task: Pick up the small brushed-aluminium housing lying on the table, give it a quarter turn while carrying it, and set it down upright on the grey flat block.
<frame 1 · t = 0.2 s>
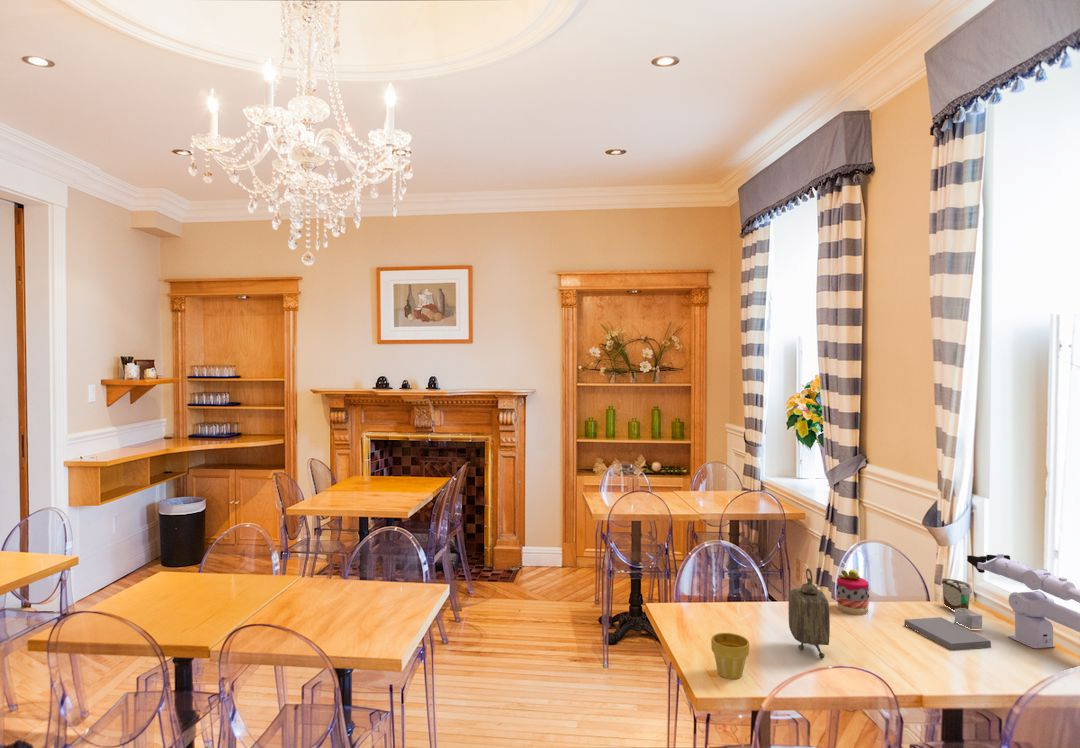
hand: (977, 557, 224), 21 cm above the table, tool horizontal, fingers open, 7 cm apart
cake: (852, 610, 232), on the table
plant pot: (730, 674, 182), on the table
grey flat block: (945, 635, 209), on the table
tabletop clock: (807, 651, 198), on the table
housing: (968, 626, 217), on the table
food container: (960, 611, 232), on the table
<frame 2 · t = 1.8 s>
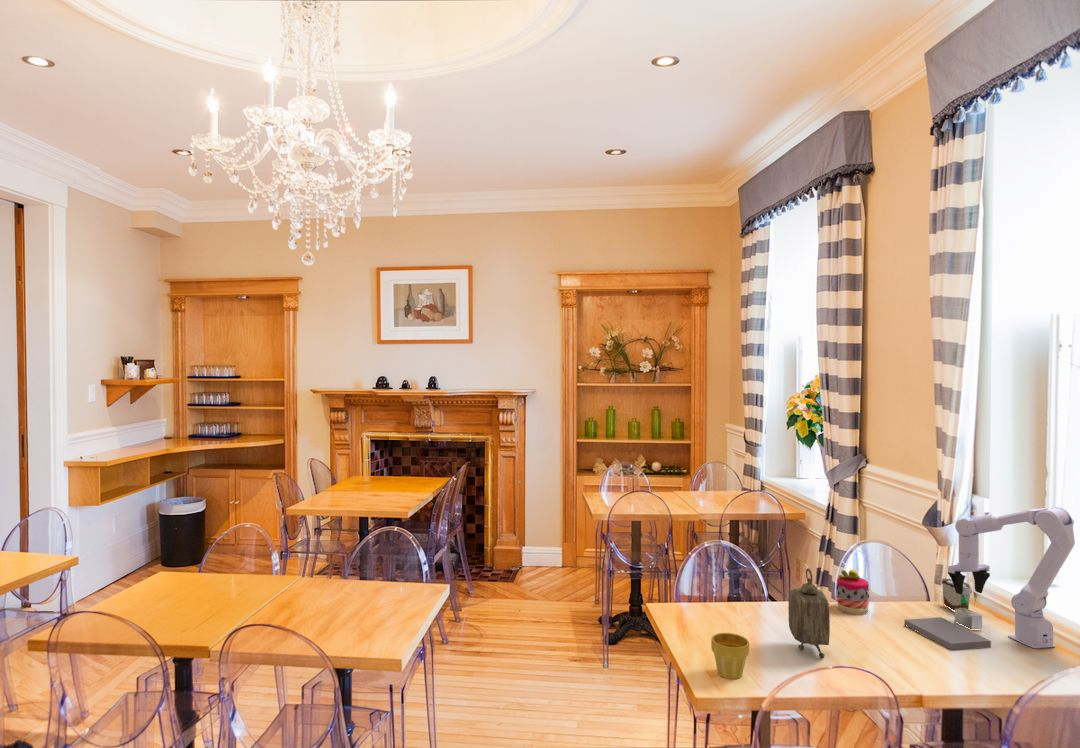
hand: (968, 592, 220), 10 cm above the table, tool pointing down, fingers open, 7 cm apart
nothing on the table moved.
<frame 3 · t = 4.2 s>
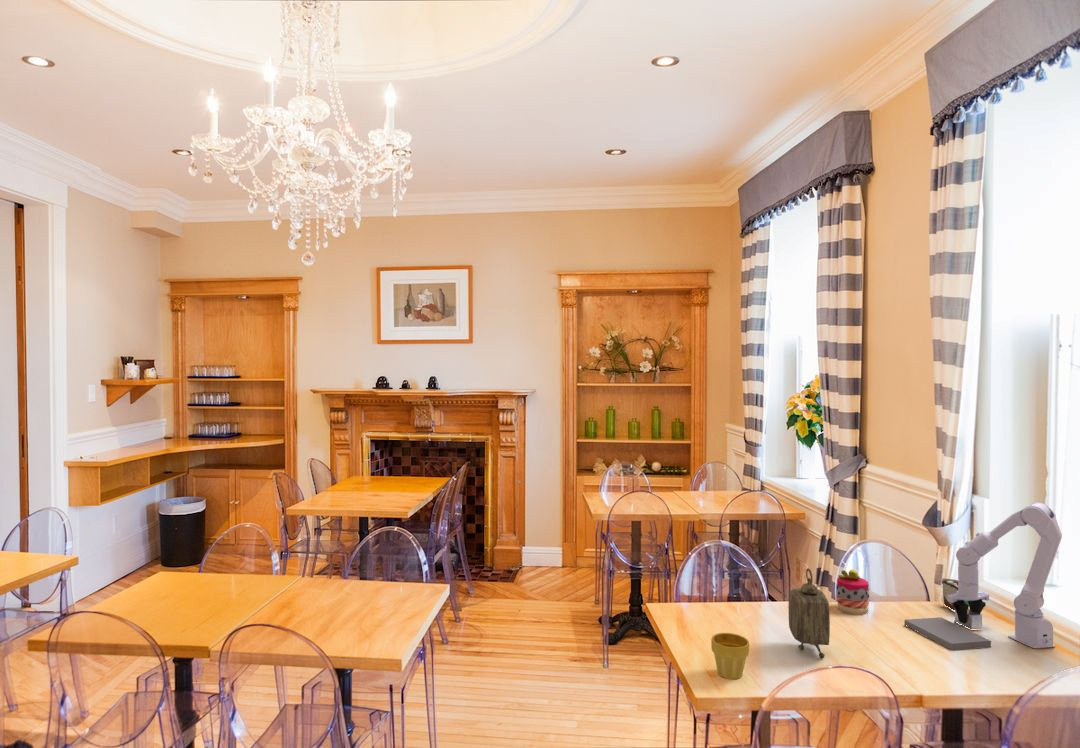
hand: (968, 622, 217), 1 cm above the table, tool pointing down, fingers closed on housing, 4 cm apart
housing: (968, 626, 217), on the table, touching gripper
everything else where it was.
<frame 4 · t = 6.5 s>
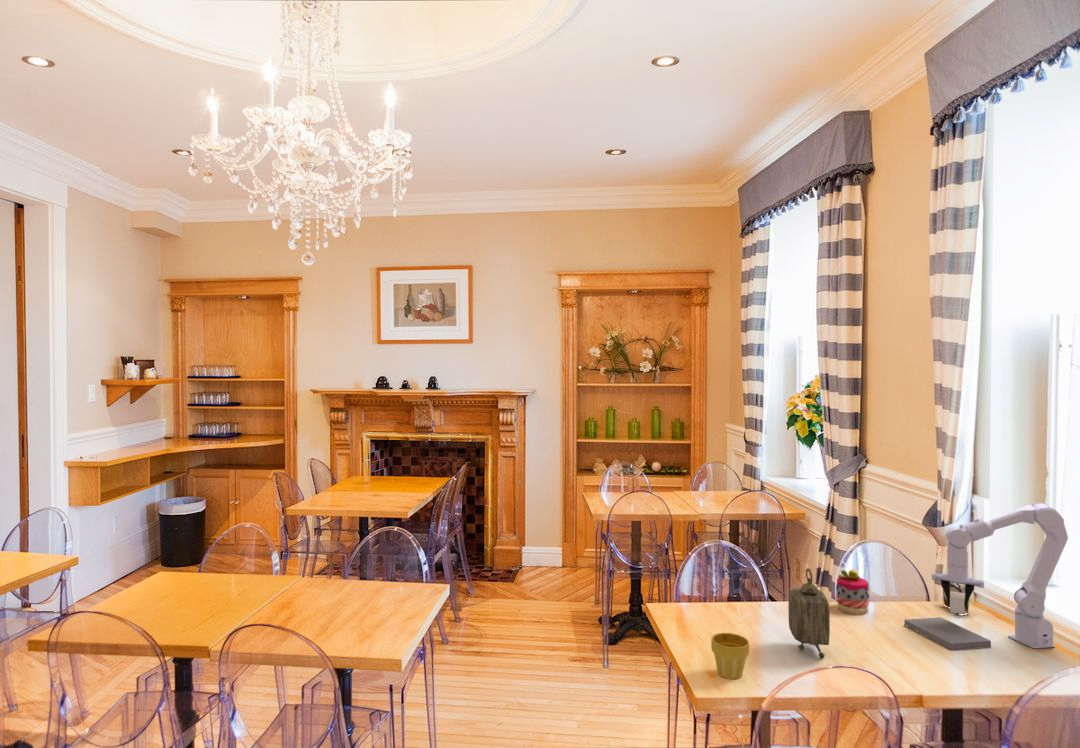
hand: (957, 605, 214), 8 cm above the table, tool pointing down, fingers closed on housing, 4 cm apart
housing: (957, 610, 214), point 7 cm above the table, touching gripper
everything else where it was.
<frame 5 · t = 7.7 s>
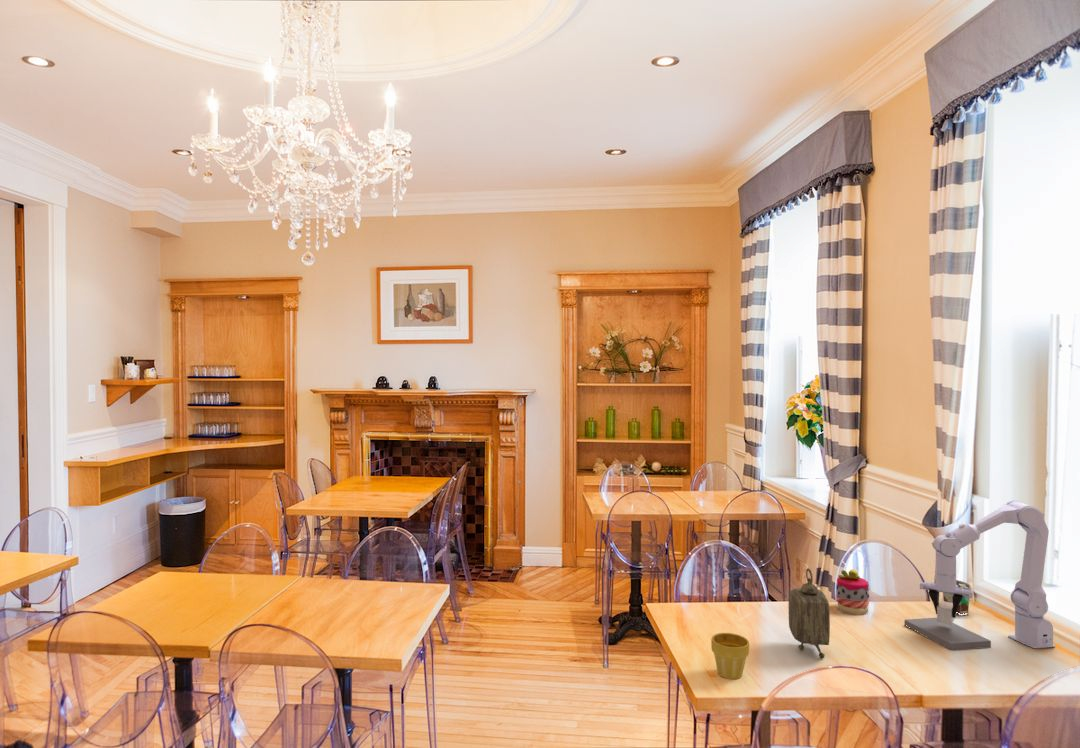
hand: (945, 615, 209), 7 cm above the table, tool pointing down, fingers closed on housing, 4 cm apart
housing: (945, 620, 209), point 5 cm above the table, touching gripper
everything else where it was.
when the fingers open (5 cm above the table, at t = 8.9 s): housing drops 1 cm, resting on grey flat block.
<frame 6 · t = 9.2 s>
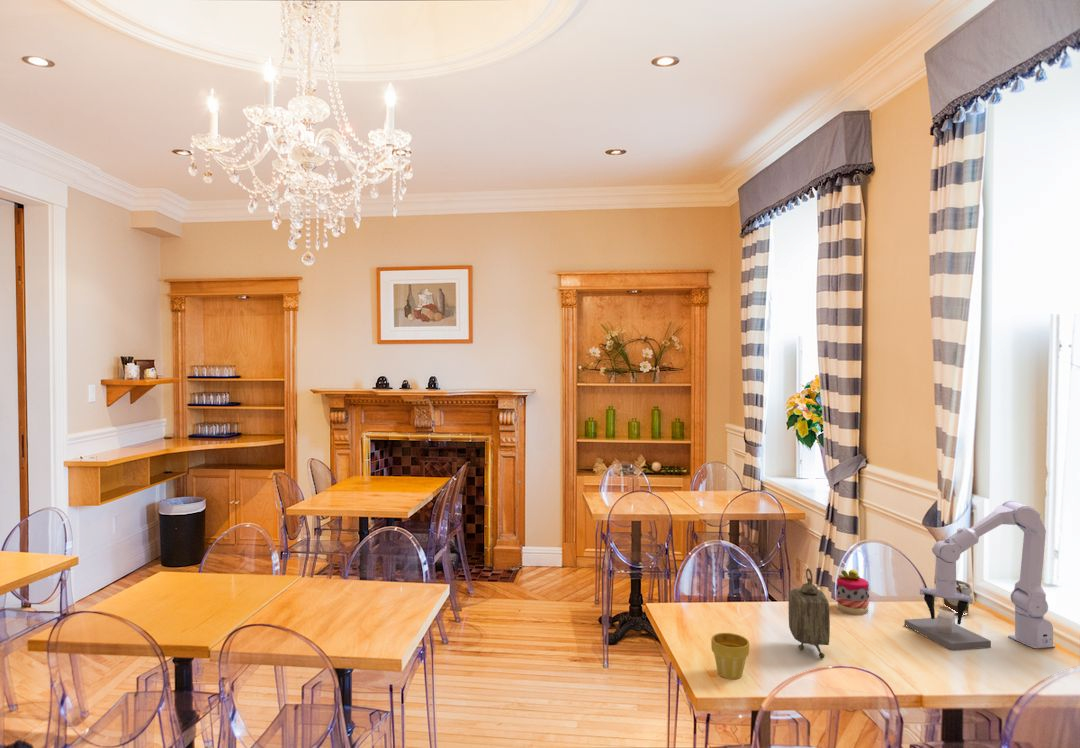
hand: (945, 620, 209), 5 cm above the table, tool pointing down, fingers open, 7 cm apart
housing: (946, 629, 209), point 2 cm above the table, touching grey flat block
everything else where it was.
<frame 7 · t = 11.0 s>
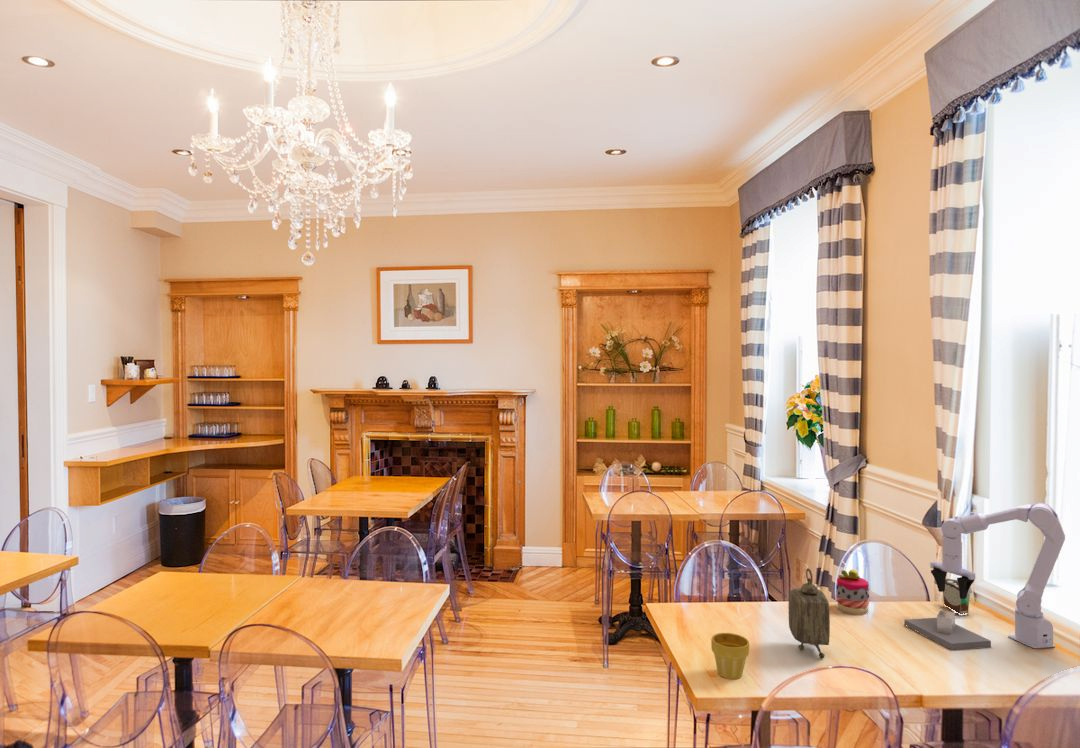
hand: (952, 594, 218), 10 cm above the table, tool pointing down, fingers open, 7 cm apart
nothing on the table moved.
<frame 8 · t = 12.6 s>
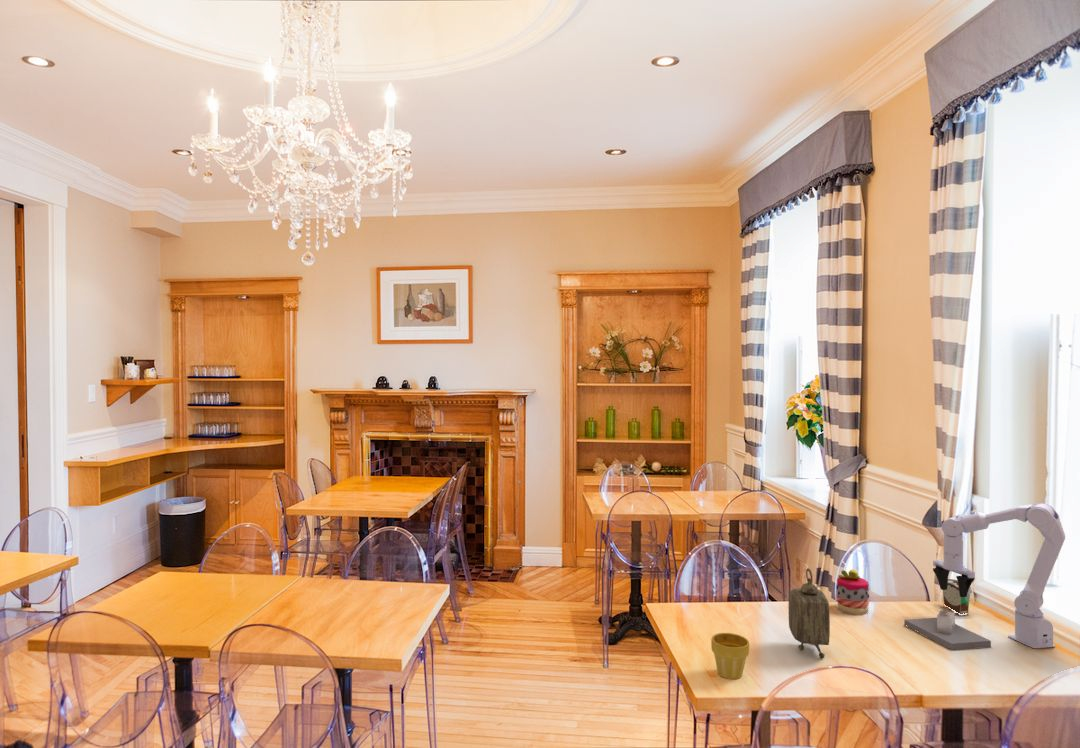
hand: (953, 593, 220), 10 cm above the table, tool pointing down, fingers open, 7 cm apart
nothing on the table moved.
at the end: housing inside the target area on the grey flat block (0.2 cm from its centre), point 2.0 cm above the grey flat block's base; housing tilted 0°; the gripper is holding nothing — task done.
